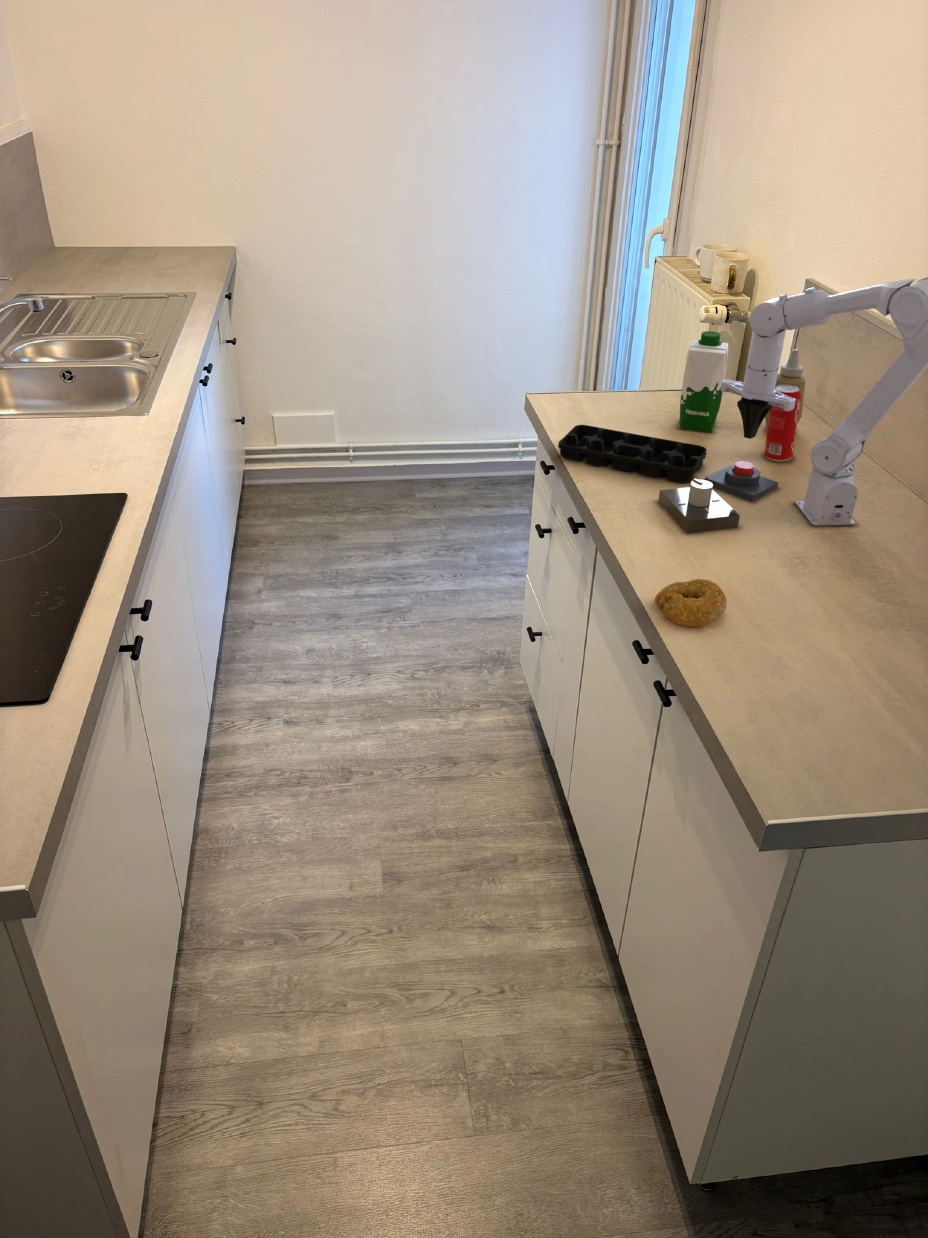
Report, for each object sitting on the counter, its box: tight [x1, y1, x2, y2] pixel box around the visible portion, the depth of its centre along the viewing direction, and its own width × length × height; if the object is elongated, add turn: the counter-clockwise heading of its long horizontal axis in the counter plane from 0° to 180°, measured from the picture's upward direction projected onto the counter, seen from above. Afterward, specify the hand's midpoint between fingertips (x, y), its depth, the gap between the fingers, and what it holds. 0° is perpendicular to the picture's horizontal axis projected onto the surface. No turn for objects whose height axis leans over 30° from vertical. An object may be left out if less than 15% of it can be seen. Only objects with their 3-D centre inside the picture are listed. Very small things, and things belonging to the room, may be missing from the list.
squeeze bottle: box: [764, 348, 806, 429], centre depth 210 cm, size 8×8×18 cm
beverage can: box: [764, 384, 801, 462], centre depth 198 cm, size 6×6×15 cm
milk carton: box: [679, 330, 729, 434], centre depth 211 cm, size 9×9×20 cm
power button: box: [734, 460, 755, 476], centre depth 188 cm, size 4×4×2 cm
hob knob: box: [688, 478, 714, 507], centre depth 176 cm, size 4×4×4 cm
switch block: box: [704, 464, 779, 503], centre depth 189 cm, size 11×9×3 cm
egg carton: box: [557, 424, 708, 484], centre depth 198 cm, size 18×30×4 cm, turn 76°
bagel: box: [654, 578, 727, 628], centre depth 149 cm, size 10×11×5 cm
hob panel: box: [657, 486, 741, 534], centre depth 178 cm, size 13×10×3 cm
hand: (749, 436), depth 184 cm, fingers closed
